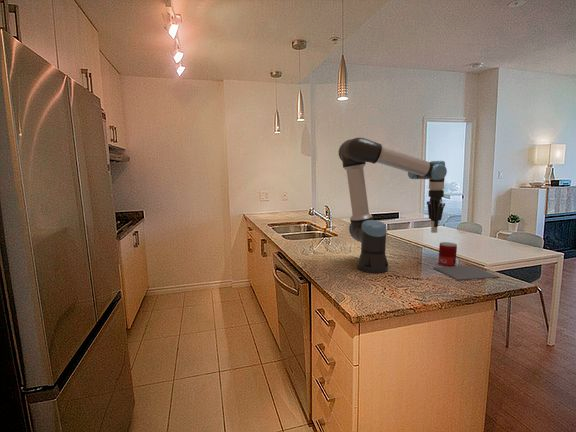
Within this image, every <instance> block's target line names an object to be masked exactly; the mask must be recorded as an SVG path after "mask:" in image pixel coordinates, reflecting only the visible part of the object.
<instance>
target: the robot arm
mask: <svg viewBox="0 0 576 432" xmlns="http://www.w3.org/2000/svg"><path fill="white" fill-rule="evenodd" d="M338 157H339V159H340V160H341V162H342V168H343V169H344V170H345V171H346V177H347V184H348V190H349V198H350V199H349V200H350V204H351V205H350V206H351V212H352V215H351V217H350V218H349V220H350V224H349V225H348V226H349V227H348V229H349V230H348V231H349V234H350V236H351V238H353V239H354V240H356V241H357V242H359V243H361V245H360V249H361V250H360V254H359V257H358V259H357V262H356V269H358V270H359V271H362V272H365V273H371V274H372V273H373V274H380V273H387V272H388V271H389V261H388V259H387V256H386V255H387V254H386V247H387V245H386V244H387V243H386V242H387V232H388V230H387V225H386V224H385V222H383V221H381V220H374V219H373V218H374V217H373V215H372V214H371V213H370V212H369V211H370V210H369V209H370V208H369V203H368V196H367V195H368V194H367V185H366V180H365V178H366V177H365V172H364V171H365V170H364V167H365V166H366V164H367V163H370V164H377V163H378V164H381V165H385V166H388V167H391V168H393V169H394V168H395V169H397V170H401V171H404V172H407V176H408V178H409V179H411V180H429V181H428V189H429V190H428V197H429V201H426V205H427V214H428V219H429V220H430V223H431V224H430V227H431V228H430V229H431V230H430V232H431V233H433V234H436V233H437V234H438V226H439V221H441V220H442V218H443V212H444V208H445V206H446V203H445V202H444V203H443V199H442V198H443V197H445V191H444V189H445V177H446V176H447V172H448V171H447V167H446V161H444V160H431V161H427V160H425V159H421V158H418V157H415V156H412V155H409V154H405V153H403V152H399V151H397V150H393V149H390V148H388V147H387V148H386V147H384V146H383V144H382V143H378V142H377V141H373V140H371V139H368V138H364V137H354V138H352V139H351V138H350V139H347V140H345V141H344V142H342V143H341V145H340V146H339V148H338Z"/></svg>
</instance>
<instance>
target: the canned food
mask: <svg viewBox="0 0 576 432" xmlns="http://www.w3.org/2000/svg"><path fill="white" fill-rule="evenodd" d="M438 247H439V250H438V264H439V265H441V266H442V267H452V266H456V263H457V262H456V261H457V250H458V244H457V243H454V242H445V241H444V242H439V246H438Z"/></svg>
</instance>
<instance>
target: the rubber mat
mask: <svg viewBox="0 0 576 432" xmlns="http://www.w3.org/2000/svg"><path fill="white" fill-rule="evenodd" d="M432 269H433V270H435V271H437V272H439V273H440V274H441V273H442V274H444V275H445V276H448V277H450V278H452V279H453V280H455V281H457V282H458V281H461V280H462V281H471V280H470V279H477V280H486V279H485V278H493V279H500V276H498V275H496V274H493V273H491V272H489V271H486V270H484V269H481V268H478V267H476V266H474V265H455V266H438V267H437V266H436V267H432ZM462 281H461V282H462Z"/></svg>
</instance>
